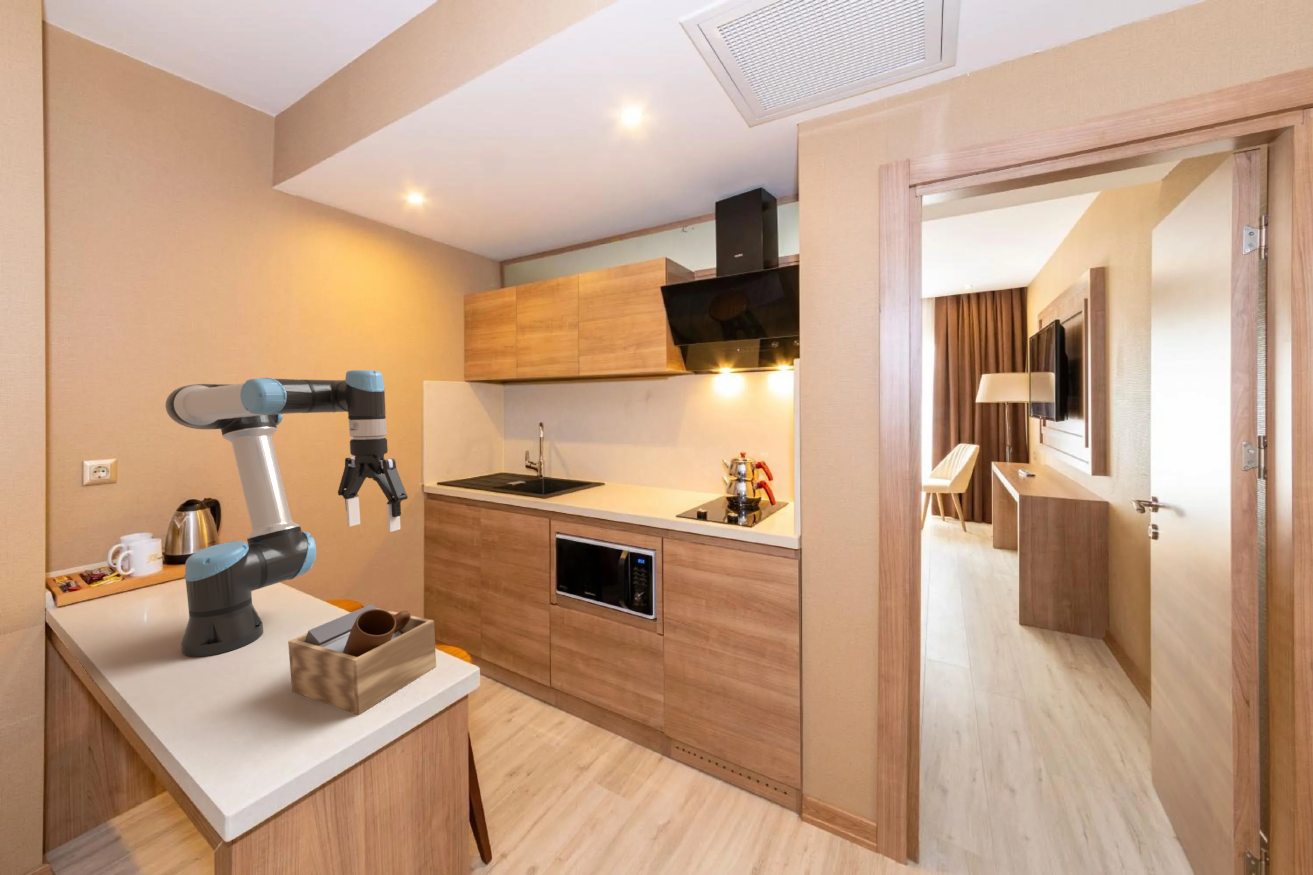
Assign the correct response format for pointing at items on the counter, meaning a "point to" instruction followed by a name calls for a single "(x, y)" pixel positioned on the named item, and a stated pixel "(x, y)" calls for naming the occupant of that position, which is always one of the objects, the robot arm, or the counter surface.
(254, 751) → the counter surface
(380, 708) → the counter surface
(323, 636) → the trapdoor
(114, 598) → the counter surface
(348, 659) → the trapdoor frame
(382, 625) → the mug
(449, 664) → the counter surface
